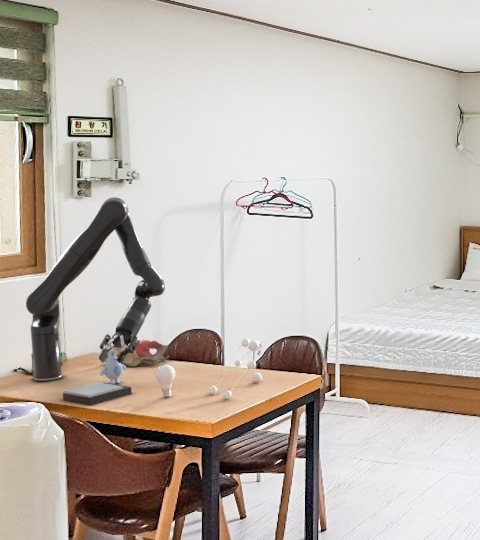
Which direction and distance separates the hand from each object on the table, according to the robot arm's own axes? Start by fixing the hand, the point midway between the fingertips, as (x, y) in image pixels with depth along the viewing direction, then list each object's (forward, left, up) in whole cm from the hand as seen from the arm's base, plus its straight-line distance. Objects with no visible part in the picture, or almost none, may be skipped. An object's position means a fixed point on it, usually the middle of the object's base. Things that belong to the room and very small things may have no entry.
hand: (109, 361), depth 310 cm
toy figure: (0, +1, -9) cm, 9 cm away
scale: (+11, -14, -8) cm, 19 cm away
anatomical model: (-21, +29, -9) cm, 37 cm away
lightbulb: (+33, -4, -9) cm, 34 cm away
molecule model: (+48, +15, -9) cm, 51 cm away
